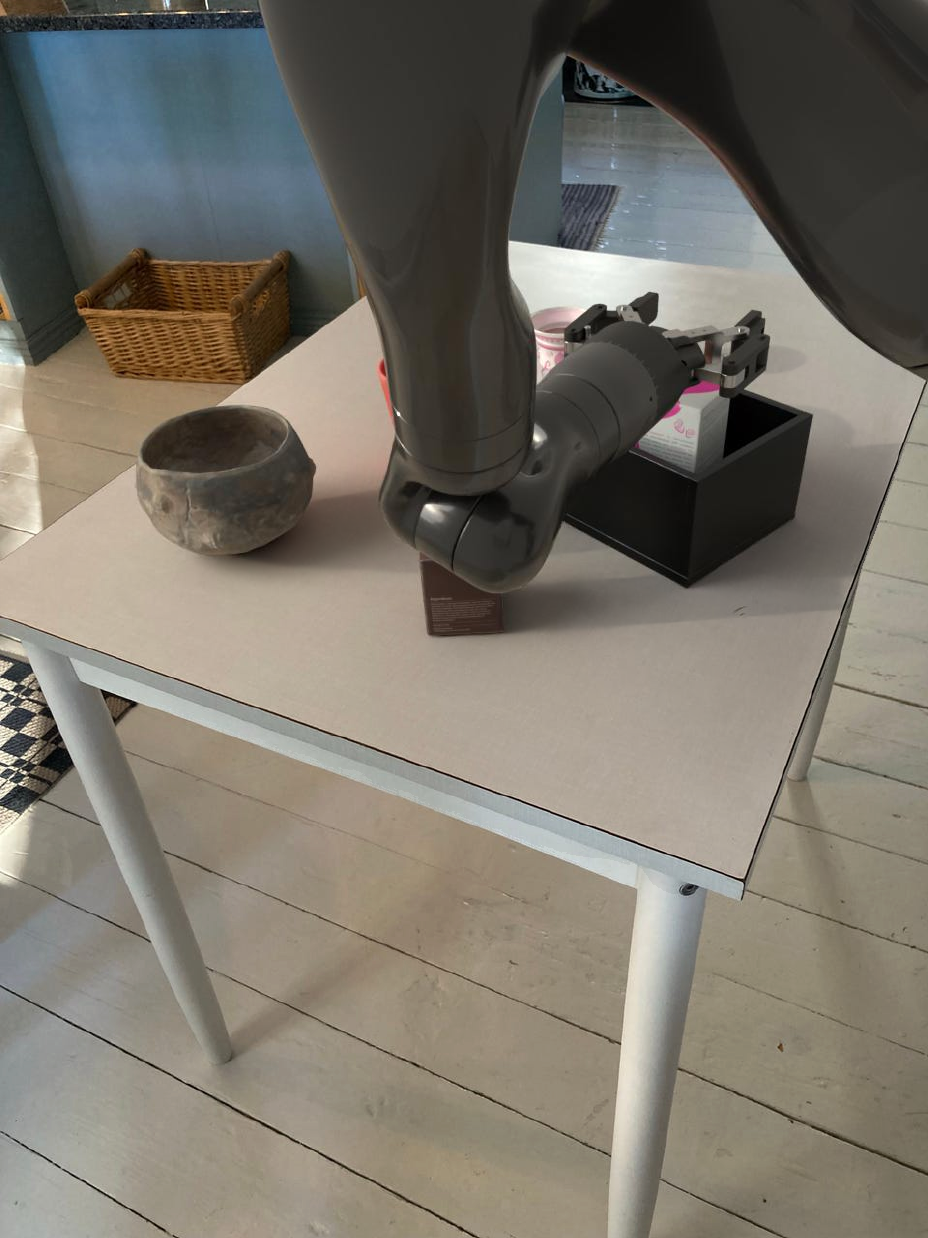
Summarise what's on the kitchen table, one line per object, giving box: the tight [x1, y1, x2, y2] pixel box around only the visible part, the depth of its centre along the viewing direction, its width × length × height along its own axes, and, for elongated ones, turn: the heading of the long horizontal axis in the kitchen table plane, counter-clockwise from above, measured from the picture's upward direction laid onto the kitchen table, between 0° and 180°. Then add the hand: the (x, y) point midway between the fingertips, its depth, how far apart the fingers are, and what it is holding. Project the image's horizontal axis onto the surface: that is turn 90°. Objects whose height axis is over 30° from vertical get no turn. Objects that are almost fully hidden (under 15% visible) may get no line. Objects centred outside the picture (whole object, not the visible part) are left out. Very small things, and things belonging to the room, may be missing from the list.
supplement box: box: [635, 381, 730, 474], centre depth 84 cm, size 6×6×12 cm
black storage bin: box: [562, 388, 814, 589], centre depth 85 cm, size 15×15×10 cm
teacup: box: [530, 306, 589, 384], centre depth 110 cm, size 12×12×6 cm
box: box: [418, 552, 504, 636], centre depth 77 cm, size 6×6×7 cm
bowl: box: [134, 404, 317, 556], centre depth 87 cm, size 14×15×10 cm
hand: (703, 312), depth 78 cm, fingers open, 8 cm apart
